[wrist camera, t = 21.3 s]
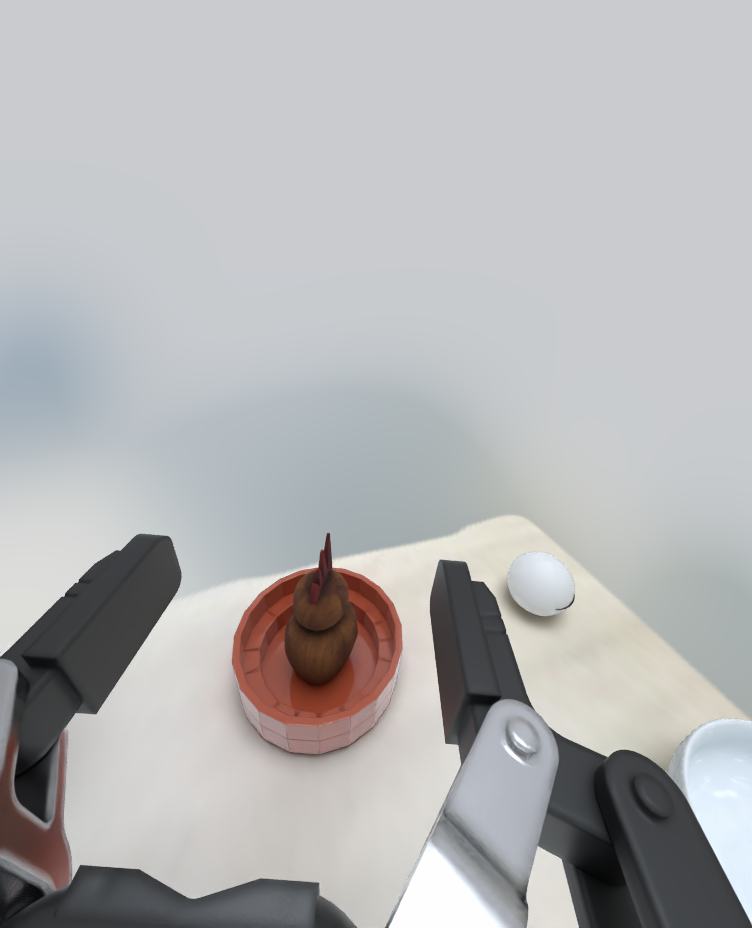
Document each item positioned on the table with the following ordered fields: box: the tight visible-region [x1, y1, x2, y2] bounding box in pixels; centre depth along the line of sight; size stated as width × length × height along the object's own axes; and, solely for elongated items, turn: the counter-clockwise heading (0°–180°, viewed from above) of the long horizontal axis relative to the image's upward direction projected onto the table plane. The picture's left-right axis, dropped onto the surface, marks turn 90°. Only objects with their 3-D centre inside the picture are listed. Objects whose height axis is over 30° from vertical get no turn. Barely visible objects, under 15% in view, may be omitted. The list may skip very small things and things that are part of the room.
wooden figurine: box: [284, 533, 358, 684], centre depth 30 cm, size 7×6×15 cm
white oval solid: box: [507, 552, 575, 616], centre depth 41 cm, size 10×7×7 cm
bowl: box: [232, 568, 402, 754], centre depth 32 cm, size 15×15×6 cm
